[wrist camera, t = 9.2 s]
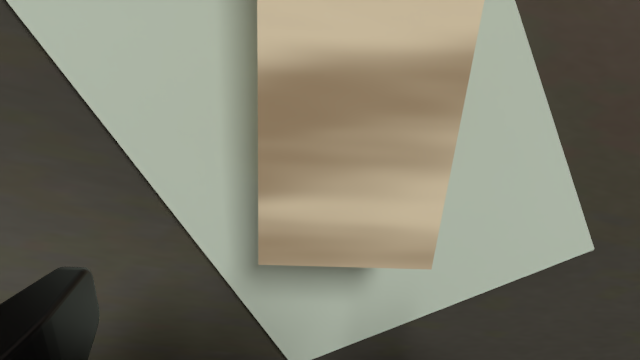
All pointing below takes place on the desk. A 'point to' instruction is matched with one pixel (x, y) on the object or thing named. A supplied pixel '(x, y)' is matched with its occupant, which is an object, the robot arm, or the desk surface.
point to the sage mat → (242, 161)
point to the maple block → (358, 127)
